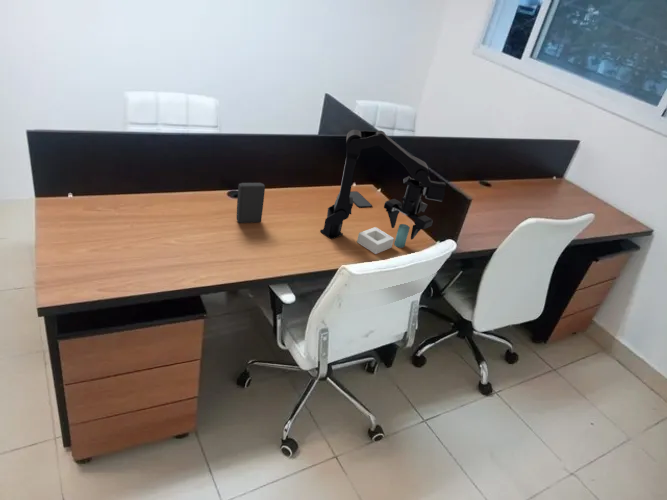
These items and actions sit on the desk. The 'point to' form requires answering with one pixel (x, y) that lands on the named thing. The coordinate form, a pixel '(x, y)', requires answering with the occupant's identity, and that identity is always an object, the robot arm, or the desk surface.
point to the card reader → (250, 202)
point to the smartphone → (359, 200)
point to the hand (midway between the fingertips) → (402, 233)
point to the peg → (401, 235)
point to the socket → (375, 240)
